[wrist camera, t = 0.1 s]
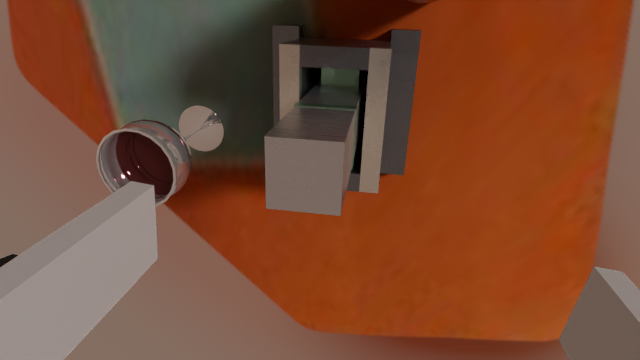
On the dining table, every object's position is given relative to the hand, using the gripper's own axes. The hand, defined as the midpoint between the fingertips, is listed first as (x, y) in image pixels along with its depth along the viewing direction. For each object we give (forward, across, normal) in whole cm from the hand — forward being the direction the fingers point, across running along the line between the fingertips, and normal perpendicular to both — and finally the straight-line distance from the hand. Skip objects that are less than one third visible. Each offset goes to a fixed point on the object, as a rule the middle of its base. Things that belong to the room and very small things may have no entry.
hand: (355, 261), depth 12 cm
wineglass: (+28, -18, -6) cm, 34 cm away
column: (+28, -3, -1) cm, 28 cm away
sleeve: (+28, -3, -1) cm, 28 cm away
